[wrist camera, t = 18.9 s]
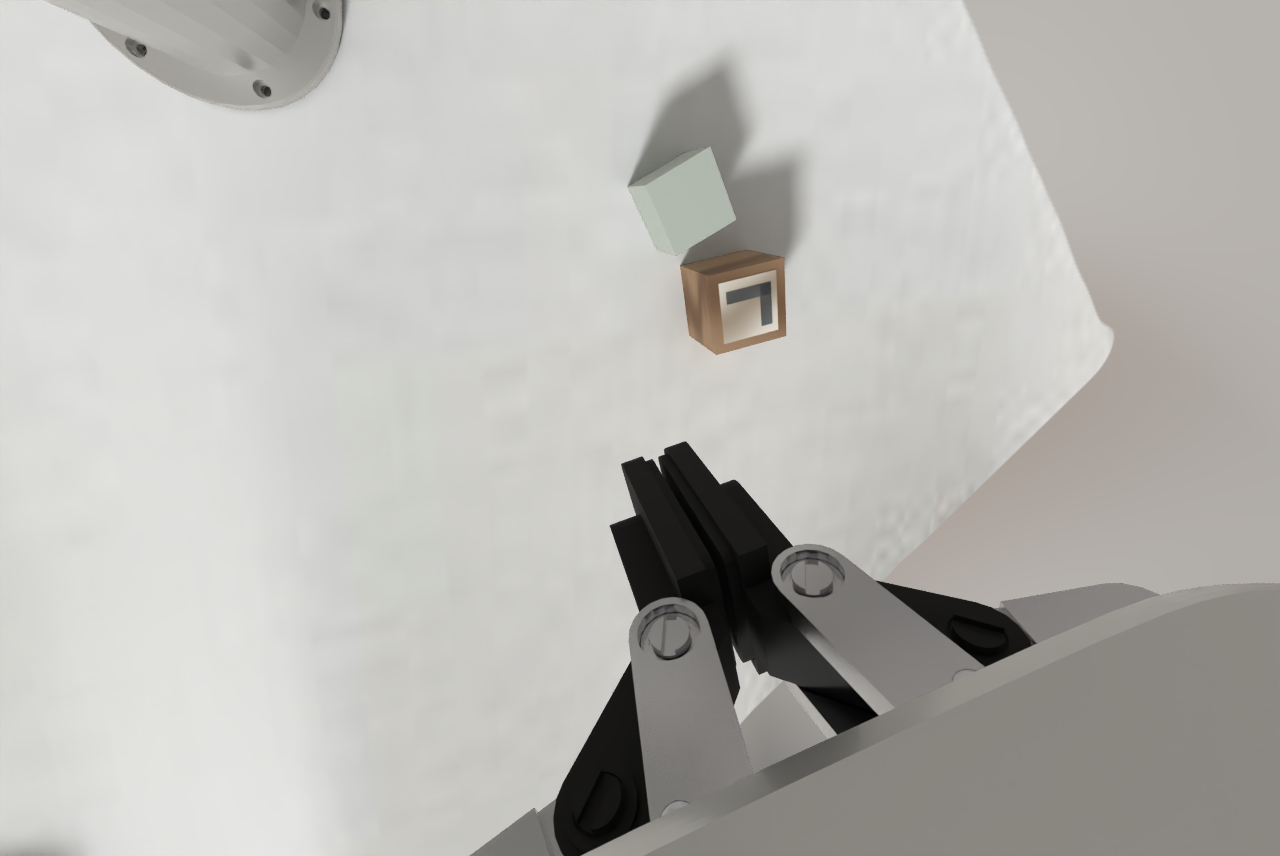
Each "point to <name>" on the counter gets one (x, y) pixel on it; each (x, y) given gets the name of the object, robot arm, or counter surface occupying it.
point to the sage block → (683, 201)
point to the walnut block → (735, 300)
